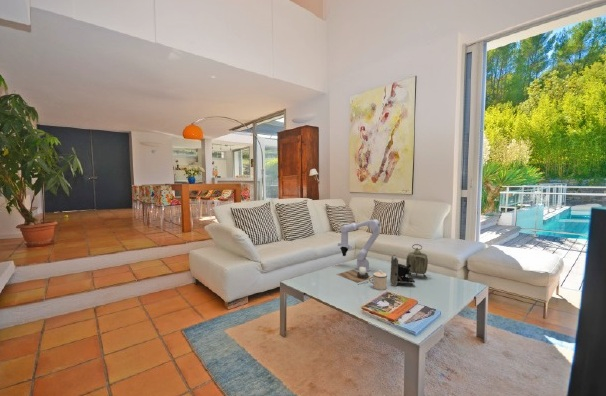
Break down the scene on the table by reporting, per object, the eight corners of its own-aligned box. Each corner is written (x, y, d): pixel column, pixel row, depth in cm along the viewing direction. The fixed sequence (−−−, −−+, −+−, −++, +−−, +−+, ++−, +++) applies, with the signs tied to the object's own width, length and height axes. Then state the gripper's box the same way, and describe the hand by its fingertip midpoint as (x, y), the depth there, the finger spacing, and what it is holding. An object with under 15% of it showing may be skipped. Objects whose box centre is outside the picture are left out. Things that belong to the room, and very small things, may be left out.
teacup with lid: (386, 285, 192) (386, 269, 191) (387, 290, 183) (387, 273, 182) (368, 284, 195) (368, 267, 194) (368, 289, 186) (368, 272, 185)
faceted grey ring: (362, 274, 210) (362, 271, 210) (370, 277, 204) (370, 273, 204) (355, 276, 206) (355, 273, 206) (363, 279, 199) (363, 276, 199)
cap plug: (362, 275, 208) (362, 266, 208) (367, 277, 204) (367, 267, 204) (358, 276, 205) (358, 267, 205) (362, 278, 202) (362, 269, 201)
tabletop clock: (427, 276, 208) (428, 244, 207) (426, 280, 200) (427, 246, 199) (407, 273, 215) (407, 242, 213) (405, 277, 207) (406, 244, 205)
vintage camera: (415, 288, 187) (416, 259, 186) (391, 286, 190) (392, 257, 189) (412, 283, 197) (413, 255, 196) (389, 281, 200) (391, 254, 199)
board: (352, 271, 221) (352, 269, 221) (374, 279, 204) (374, 277, 204) (336, 276, 211) (336, 274, 211) (357, 284, 193) (357, 282, 193)
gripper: (335, 238, 232) (334, 254, 233) (347, 242, 220) (347, 258, 221) (341, 237, 236) (340, 253, 237) (353, 241, 225) (353, 257, 226)
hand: (344, 255), depth 230 cm, fingers closed
